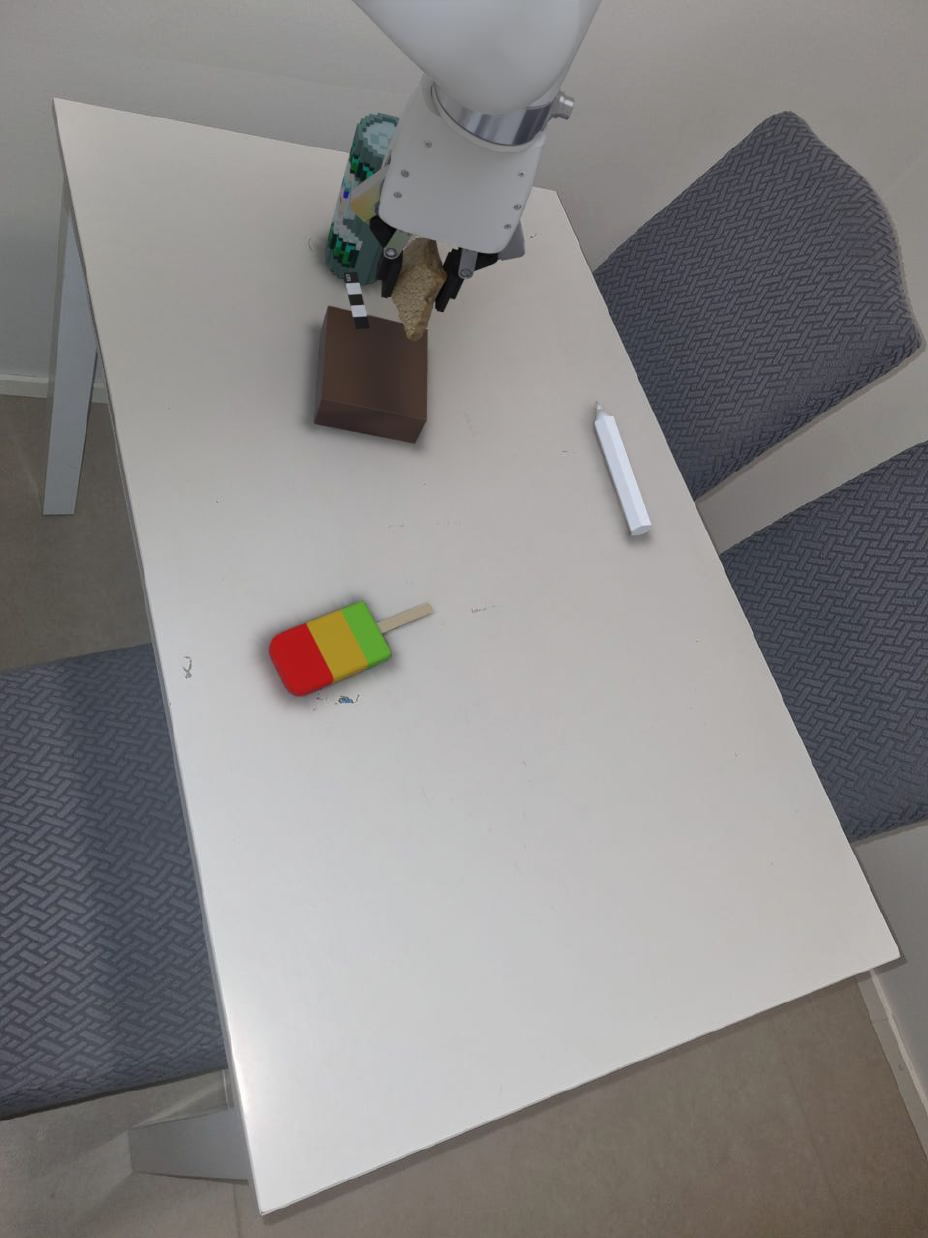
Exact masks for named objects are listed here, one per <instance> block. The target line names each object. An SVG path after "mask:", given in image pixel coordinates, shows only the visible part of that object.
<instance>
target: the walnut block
mask: <svg viewBox="0 0 928 1238" xmlns="http://www.w3.org/2000/svg"><path fill="white" fill-rule="evenodd" d="M367 319H368V323H369V327H370V328H369V329H355V324H354V320H353V315H352V311H351V309H350V310H349V309H345V308H341V307H338V306H333V305H330V304H329V305H327V308H326V311H325V315H324V318H323V321H322V325H321V329H320V331H319V344H318V358H317V370H316V383H315V384H316V386H315V399H314V414H313V424H314V425H317V426H322V427H323V426H324V427H329V428H334V429H338V430H344V431H347V432H348V431H349V432H354V433H358V434H364V435H370V436H375V437H378V438H379V437H380V438H383V439H390V440H395V441H400V442H405V443H409V444H416V443H417V441H418V439H419V437H420V435H421V433H422V431H423V429H424V427H425V425H426V423H427V421H428V366H429V365H428V363H429V362H428V355H429V351H428V349H429V347H428V346H429V330H428V328H426V330H425V331H424V332H423V333H422V337H421V338H420V339H419V340H417V341H416V342H412V341H411V340H409V339H408V337H407V335H406V334H407V332H406V331H405V330H404V327H405V326H404V324H403V322H401V321H395V320H391V319H388V318H383V317H378V316H374V315H370V314H367Z"/></svg>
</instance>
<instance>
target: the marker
mask: <svg viewBox="0 0 928 1238" xmlns="http://www.w3.org/2000/svg"><path fill="white" fill-rule="evenodd" d="M595 410H596V411H595V413H596V414H595V420H594V422H593V425H594V430H595V433H596V436H597V439H598V442H599V446H600V449H601V451H602V454H603V458H604V460H605V463H606V466H607V469H608V471H609V474H610V478H611V481H612V483H613V487H614V489H615V492H616V495H617V499H618V501H619V504H620V507H621V509H622V513H623V516H624V518H625V521H626V524H627V528H628V531H629V533H630V536H631V537H632V536H641V535H644V534H645V533H647V532H649V531H651V530H652V522H651V520H650V517H649V514H648V511H647V508H646V506H645V503H644V500H643V497H642V494H641V490H640V488H639V485H638V482H637V480H636V477H635V474H634V471H633V468H632V465H631V463H630V459H629V456H628V454H627V450H626V448H625V445H624V443H623V440H622V436H621V433H620V431H619V428H618V426H617V423H616V419H615V417H614V416H613V415H610V414H609V413H607V412H606V410H604V408H603V407H602V406H601V405H600V403H599V402H598V401H597V400H596V401H595Z"/></svg>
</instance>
